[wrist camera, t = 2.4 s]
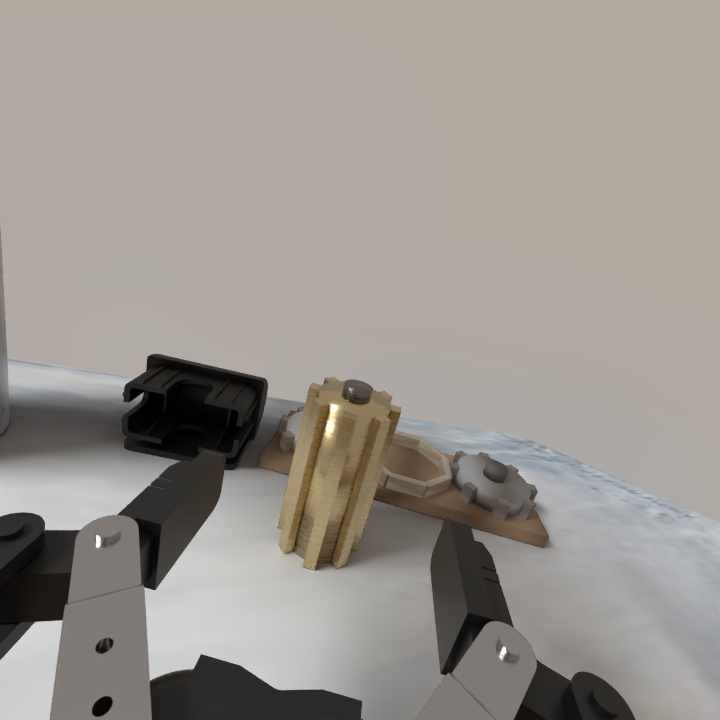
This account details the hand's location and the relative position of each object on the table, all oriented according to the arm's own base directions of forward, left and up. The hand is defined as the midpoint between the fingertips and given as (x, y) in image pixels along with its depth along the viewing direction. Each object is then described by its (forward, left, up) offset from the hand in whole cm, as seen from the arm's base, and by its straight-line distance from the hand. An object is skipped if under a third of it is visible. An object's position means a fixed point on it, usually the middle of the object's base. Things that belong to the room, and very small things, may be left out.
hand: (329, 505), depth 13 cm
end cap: (-13, +17, -12) cm, 25 cm away
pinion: (0, +10, -11) cm, 15 cm away
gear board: (+6, +20, -11) cm, 24 cm away
